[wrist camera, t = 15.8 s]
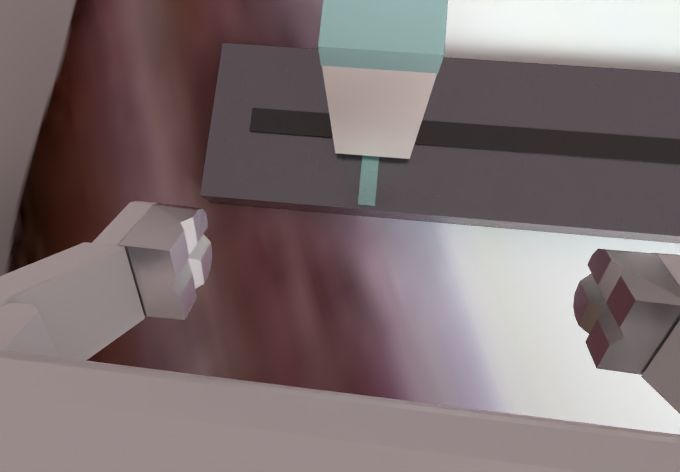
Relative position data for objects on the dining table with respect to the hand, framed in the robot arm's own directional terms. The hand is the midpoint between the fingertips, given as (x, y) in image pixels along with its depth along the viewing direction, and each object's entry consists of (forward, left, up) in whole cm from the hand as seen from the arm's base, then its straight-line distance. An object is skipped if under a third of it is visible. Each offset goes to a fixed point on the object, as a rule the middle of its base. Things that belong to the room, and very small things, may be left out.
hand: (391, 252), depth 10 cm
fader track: (+7, -7, -13) cm, 17 cm away
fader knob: (+7, +1, -11) cm, 13 cm away
